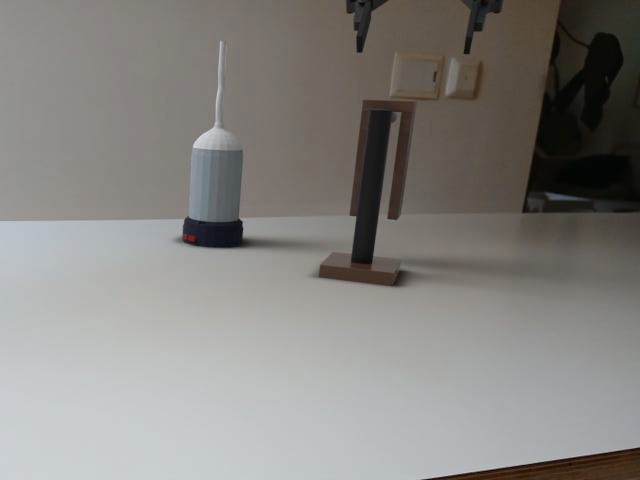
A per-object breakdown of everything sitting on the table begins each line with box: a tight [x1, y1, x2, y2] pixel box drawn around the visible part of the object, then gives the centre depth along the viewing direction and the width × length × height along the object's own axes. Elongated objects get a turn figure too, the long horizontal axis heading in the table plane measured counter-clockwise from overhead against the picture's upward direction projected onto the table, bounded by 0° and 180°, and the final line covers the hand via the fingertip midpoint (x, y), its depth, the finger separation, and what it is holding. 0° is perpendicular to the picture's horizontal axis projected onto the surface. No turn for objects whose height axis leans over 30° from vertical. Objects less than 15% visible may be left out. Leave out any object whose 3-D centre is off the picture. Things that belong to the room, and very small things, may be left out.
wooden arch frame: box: [349, 99, 418, 221], centre depth 87 cm, size 6×4×13 cm
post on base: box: [318, 109, 402, 287], centre depth 85 cm, size 8×14×18 cm, turn 157°
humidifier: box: [182, 40, 244, 249], centre depth 96 cm, size 8×8×25 cm
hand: (412, 45), depth 97 cm, fingers open, 13 cm apart
